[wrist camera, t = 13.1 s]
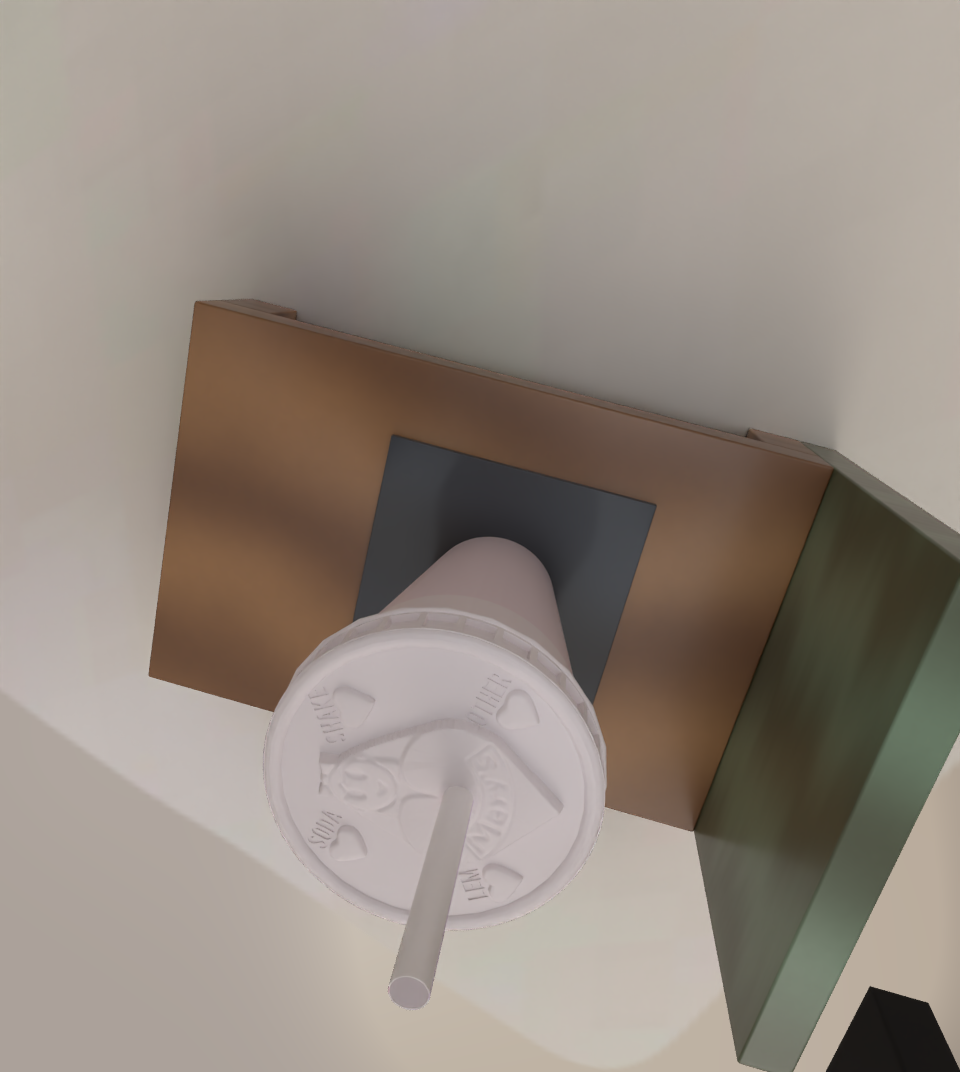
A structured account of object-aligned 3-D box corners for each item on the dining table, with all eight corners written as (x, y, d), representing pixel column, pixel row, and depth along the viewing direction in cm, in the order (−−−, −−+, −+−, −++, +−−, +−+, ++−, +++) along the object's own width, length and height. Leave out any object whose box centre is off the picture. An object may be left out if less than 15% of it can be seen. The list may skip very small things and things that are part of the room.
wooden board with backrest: (250, 298, 27) (-5, 307, 15) (837, 450, 26) (1035, 582, 14) (202, 627, 30) (-31, 834, 19) (713, 771, 29) (790, 1079, 18)
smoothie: (588, 709, 25) (586, 1207, 11) (378, 682, 25) (143, 1124, 12) (614, 502, 23) (649, 810, 9) (386, 478, 23) (118, 736, 10)
